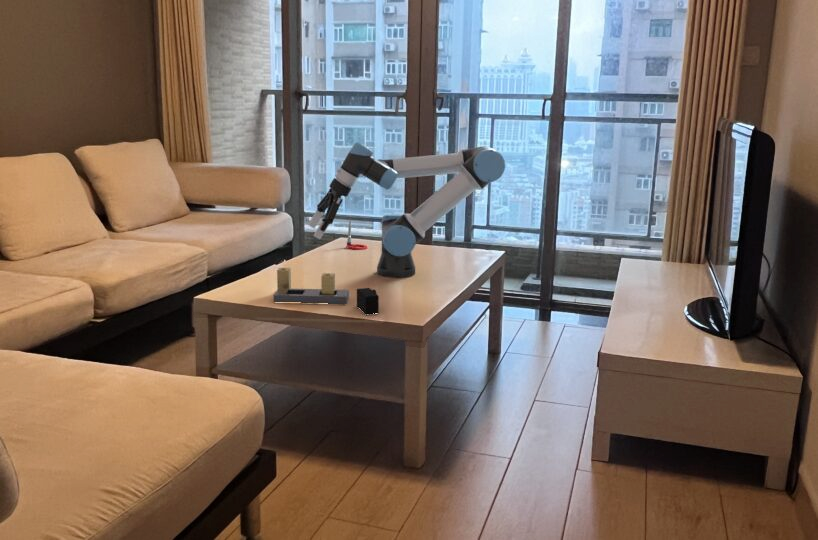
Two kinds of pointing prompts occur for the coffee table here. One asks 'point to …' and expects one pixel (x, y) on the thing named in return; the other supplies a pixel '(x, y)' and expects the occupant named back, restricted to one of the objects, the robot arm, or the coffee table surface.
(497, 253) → the coffee table surface
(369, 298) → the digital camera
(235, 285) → the coffee table surface
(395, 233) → the robot arm
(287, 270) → the tan tall block
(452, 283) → the coffee table surface
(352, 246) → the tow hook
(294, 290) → the rail
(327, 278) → the beige upright block
